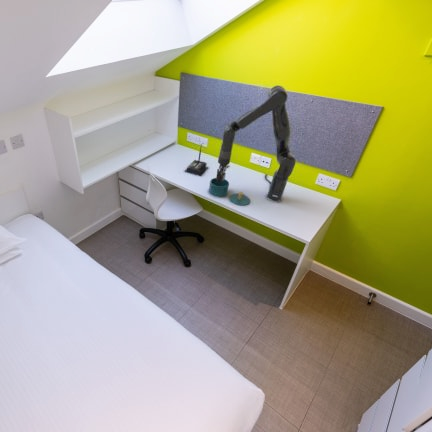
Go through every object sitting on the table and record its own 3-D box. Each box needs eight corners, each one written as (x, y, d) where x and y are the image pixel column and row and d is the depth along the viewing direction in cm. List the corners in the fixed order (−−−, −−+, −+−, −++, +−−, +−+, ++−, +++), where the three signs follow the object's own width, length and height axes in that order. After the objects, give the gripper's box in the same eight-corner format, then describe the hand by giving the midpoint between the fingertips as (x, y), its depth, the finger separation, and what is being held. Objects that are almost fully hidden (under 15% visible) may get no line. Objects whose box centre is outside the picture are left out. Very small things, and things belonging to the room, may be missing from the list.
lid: (232, 192, 208) (234, 185, 205) (252, 198, 202) (254, 191, 199) (226, 202, 199) (227, 194, 195) (246, 208, 193) (248, 200, 189)
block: (218, 177, 204) (219, 171, 201) (224, 179, 202) (225, 173, 199) (215, 179, 201) (216, 173, 198) (222, 181, 199) (223, 175, 196)
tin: (212, 186, 215) (214, 176, 210) (229, 191, 210) (231, 181, 205) (205, 194, 207) (207, 183, 202) (222, 199, 201) (225, 189, 196)
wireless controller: (201, 176, 227) (204, 155, 217) (184, 171, 232) (186, 151, 222) (209, 165, 241) (213, 146, 230) (194, 161, 246) (196, 142, 236)
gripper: (226, 161, 185) (221, 185, 195) (234, 153, 194) (229, 176, 205) (215, 158, 188) (211, 181, 198) (223, 150, 198) (218, 173, 208)
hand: (220, 178), depth 201 cm, fingers closed on block, 4 cm apart
